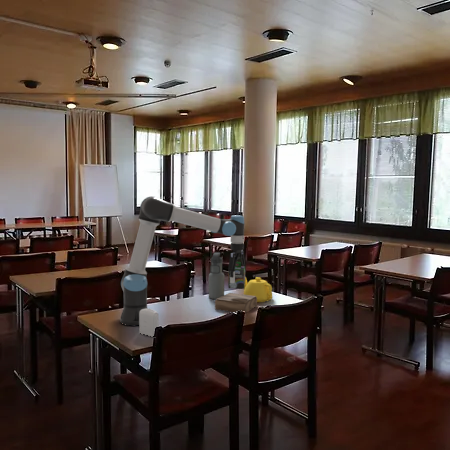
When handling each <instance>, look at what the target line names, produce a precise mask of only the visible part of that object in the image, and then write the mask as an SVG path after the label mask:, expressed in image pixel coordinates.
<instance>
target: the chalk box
mask: <svg viewBox="0 0 450 450" xmlns="http://www.w3.org/2000/svg"><path fill="white" fill-rule="evenodd" d="M234 271H235V283H230V271H228V270H227V272H228V273H227V274H228V278H227V279H228V289H235V290H238V289H239V290H244V288H245V277H246V265H245V266H241V262H238V261H237V262H236V266H235V270H234Z"/></svg>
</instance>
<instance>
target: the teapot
mask: <svg viewBox="0 0 450 450" xmlns="http://www.w3.org/2000/svg"><path fill="white" fill-rule="evenodd" d="M243 295H251V296H256V297H257V303H266V302H265V301H267V302H269V301H270V300H272V299H273V297H274V296H273V287H272V284H270V283H268V281H267V280H264V279H262V277H260V276H259V277H257V276H256V277H255V279H250V280H249V281H248V280H247V277H246V276H245V288H244V289H243Z"/></svg>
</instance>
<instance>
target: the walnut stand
mask: <svg viewBox="0 0 450 450" xmlns="http://www.w3.org/2000/svg"><path fill="white" fill-rule="evenodd" d="M214 300H215V301H214V310H217V311H222V312H224V311H225V312H229V313H235V312H236V311H238V310H242V311H245V312H246V313H248V312H249V310H250V309H251V310H253V309H254V307H255V308H257V307H258V302H257V297H256V296H251V295H244V293H242V294H240V293H235V292H228V293H226V294H224V296H221V297H219V298H217V299H214ZM256 306H257V307H256ZM252 308H253V309H252ZM251 310H250V311H251ZM247 311H248V312H247Z"/></svg>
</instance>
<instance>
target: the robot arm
mask: <svg viewBox="0 0 450 450" xmlns="http://www.w3.org/2000/svg"><path fill="white" fill-rule="evenodd" d="M139 207H140V211H139V215H138V221H139V227H138V230H137V235H136V238H135V242H134V246H133V250H132V254H131V258H130V261H129V265H128V266H126V267H125V270H124V274H123V275H122V278H121V281H120V286H121V289H122V291H123V309H122V311H121V316H120V318H119V319H120V320H119V323H120V322H121V323H123V324H126V325H139V312H140V310H142V309H146V308H148V279H147V274H148V272H147V271H146V267H147V263H148V259H149V254H150V251H151V248H152V244H153V240H154V236H155V232H156V228H157V226H159V225H160V224H161V222H162V221H163V222H168V223H170V222H175V223H178V224H182V225H186V226H191V227H193V228H197V229H202V230H205V231H209V232H211V233H212V234H220V235H224V236H227V237H230V250H232V252H231V253H230V254H229V261H228V267H227V272H228V271H230V283H235V271H234V270H235V266H237V264H236V262H241V266H245V267H246V260H245V250H244V249H245V243H244V242H245V217H244V216H243V215H237V214H236V215H231V216H230V218H229V219H228V218H227V219H225V218H224V219H223V218H219V217H215V216H210V215H207V214H204V213H200V212H196V211H192V210H189V209H186V208H182V207H179V206H175V203H172V202H168V201H165V200H163V199H162V198H160V197H156V196H147V197H145V198H144V199H143V200H142V201H141V203H140V206H139ZM121 323H120V324H121ZM126 325H125V326H126Z"/></svg>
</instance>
